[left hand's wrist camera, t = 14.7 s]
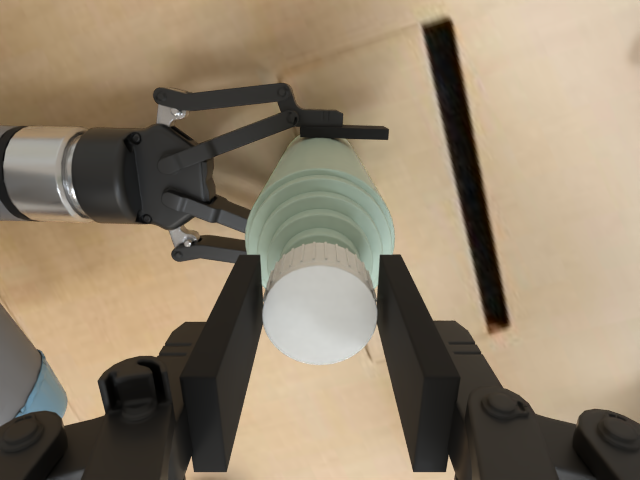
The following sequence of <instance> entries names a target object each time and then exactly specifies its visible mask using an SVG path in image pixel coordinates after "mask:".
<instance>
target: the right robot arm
mask: <svg viewBox="0 0 640 480" xmlns="http://www.w3.org/2000/svg"><path fill="white" fill-rule="evenodd" d="M153 98H154V100H155V102H156V103H157V104H158V113H157V123H156V124H153V125H151V126H149V127H148V128H145V129H135V128H100V127H96V128H91V129H86V128H84V127H63V126H0V221H48V222H76V223H90V222H93V221H96V222H98V223H115V224H154V225H157V226H159V227H161V228H163V229H166V230H169V232H170V235H171V238H172V241H173V244H174V247H175V249H174V250H173V251H172V253H171V255H172V258H173V259H174V260H175V261H178V262H181V261H187V260H193V259H198V258H202V259H209V260H216V261H223V262H230V263H236V261H237V259H238V257H239V255H247V251H246V246H245V240H240V239H233V238H227V237H220V236H213V235H201V236H200V235H199V233H198V232H197V231H192V230H188V229H186V228H185V227H184V224H185V223H187V222H188V221H190V220H191V219H192V218H194V217H197V218H200V219H203V220H205V221H208V222H211V223H220V224H222V225H225V226H227V227H230V228H232V229H235V230H238V231H240V232H243V233H245V230H246V224H247V220H248V217H249V214H250V212H251V210H249V209H246V208H244V207H241V206H239V205H236V204H234V203H231V202H229V201H228V200H227V199H226V198H224V197H221V196H219V195H216V190H215V184H214V181H213V178H212V174H213V169H214V161H213V157H215V156H217V155H220V154H222V153H225V152H228V151H230V150H233V149H236V148H238V147H241V146H244V145H246V144H249V143H252V142H254V141H257V140H260V139H262V138H265V137H267V136H270V135H273V134H275V133H278V132H281V131H283V130H286V129H289V128H291V127H295V126H296V127H300V137H305V138H341V139H376V140H388V134H389V129H387V128H386V127H384V126H358V125H343V113H341V112H339V111H337V110H322V109H303V108H301V107H299V106H298V105H297V103H296V100H295V97H294V94H293V91H292V88H291V86H290V85H288V84H285V83H276V84H268V85H259V86H250V87H241V88H233V89H224V90H215V91H206V92H198V93H192V92H188V91H184V90H180V89H176V88H157V89H156V90H155V91H154V93H153ZM269 102H278V105H279V108H280V111H281V113H278V114H276V115H273V116H271V117H268V118H265V119H263V120H260V121H257V122H255V123H252V124H250V125H247V126H244V127H242V128H239V129H237V130H234V131H231V132H229V133H226V134H223V135H221V136H218V137H215V138H213V139H210V140H207V141H205V142H202V143H200V144H199V143H197V142H196V141H194V140H193V139H192V138H190V137H189V136H187V135H186V134H185V133H183V132H182V131H181V130H179V129H178V128H176V127H175V126H174V122H175V121H176V120H177V119H184V118H186V117H188V115H189V113H190V111H197V110H206V109H215V108H224V107H233V106H242V105H251V104H260V103H269ZM66 408H67V396H66V392H65V391H64V389H63V387H62V385H61V384H60V382H59V381H58V379H57V377H56V376H55V374H54V372H53V371H52V369H51V367H50V366H49V364H48V362H47V361H46V358H45V356H44V354H43V353H42V351H40V350H38V349H36V348H35V347H34V345H33V344H32V343H31V342H30V340H29V339H28V338H27V337H26V335H25V334H24V333H23V331H22V330H21V329H20V328H19V326H18V325H17V324H16V323H15V321H14V320H13V319H12V317H11V316H10V315H9V314H8V312H7V311H6V310H5V308H4V307H3V306H2V305H1V303H0V426H2V425H3V424H5V423H7V422H9V421H11V420H13V419H14V418H16V417H19V416H22V415H25V414H28V413H31V412H37V411H45V410H46V411H51V412H56V413H57V414H58V415H59V416H60V417H61V418H63V416H64V414H65V411H66Z"/></svg>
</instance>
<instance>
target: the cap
mask: <svg viewBox="0 0 640 480" xmlns="http://www.w3.org/2000/svg"><path fill="white" fill-rule="evenodd" d="M263 301H264V304H263V308H262V320H263V325H264V329H265V331H266V334H267V335H268V337H269V339H270V341H271V342H272V343H273V345H274V346H275V347H276V348H277V349H278V350H280V351H281V352H282V353H283V354H285V355H286V356H288V357H290V358H292V359H294V360H296V361H299V362H302V363H307V364H314V365H326V364H333V363H337V362H340V361H343V360H346V359H348V358H350V357H352V356H353V355H355V354H356V353H358V352H359V351H360V350H361V349H362V348H363V347H364V346H365V345H366V344H367V343H368V341H369V340H370V339H371V337H372V335H373V333H374V330H375V328H376V324H377V314H378V313H377V312H378V309H377V306H376V302H377V298H376V295H375V291H374V287H373V284H372V280H371V277H370V274H369V271H368V270H366V268H365V265H364V262H361V261H360V260H359V259H358V258H357V255H356V254H355V255H354V254H353V253H351V252H350V251H348V248H346V249H345V248H343V247H340V246H338V244H335V245H334V244H330V243H327V242H324V243H320V242H319V243H315V242H313V243H310V244H306V245H304V244H302V246H299V247H297V248H295V249H294V248H292V250H291V251H290V252H288V253H287V254H286V255H285V254H283V256H282V258H281V259H280V261H279V262H276V264H275V268H274V270H271V273H270V276H269V280H268V282H267V286H266V290H265V293H264V297H263Z"/></svg>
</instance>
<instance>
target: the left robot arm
mask: <svg viewBox="0 0 640 480" xmlns="http://www.w3.org/2000/svg"><path fill="white" fill-rule="evenodd" d="M262 308H263V293H262V276H261V259H260V255H239V257H238V259H237V261H236V263H235V265H234V267H233V269H232V271H231V273H230V275H229V277H228V279H227V281H226V283H225V285H224V287H223V289H222V291H221V293H220V295H219V297H218V299H217V301H216V303H215V306H214V308H213V310H212V312H211V314H210V316H209V318H208V320H207V322H185V323H183V324H182V325H181V326H179V327H178V328H177V329H175V330H174V331H173V332H172V333H171V335H170V336H169V338H168V340H167V341H166V343H165V346H163V348H162V350H161V351H160V353H159V356H157V357H153V356H138V357H134V358H129V359H126V360H124V361H121V362H119V363H117V364H115V365H113V366H112V367H110V368H109V369H108V370H106V371H105V372H104V373H103V374H102V376H101V377H100V378H99V380H98V385H99V389H100V393H101V397H102V401H103V405H104V409H105V415H104V416H102V417H98V418H95V419H92V420H87V421H83V422H79V423H75V424H71V425H66V426H64V425H63V421H62V418H61V417H60V416H59V415H58V414H57V413H56V412H51V411H46V410H45V411H37V412H31V413H28V414H25V415H22V416H19V417H16V418H14V419H13V420H11V421H9V422H7V423H5V424H3V425H2V426H0V480H186V478H185V473H186V470H187V467H188V464H189V461H190V459H191V456H192V462H193V468H194V472H227V468H228V464H229V460H230V456H231V452H232V448H233V444H234V440H235V436H236V432H237V428H238V423H239V419H240V415H241V411H242V407H243V403H244V399H245V395H246V391H247V387H248V383H249V378H250V374H251V370H252V366H253V362H254V358H255V354H256V350H257V346H258V342H259V338H260V334H261V329H262V325H263V320H262ZM377 309H378V312H377V313H378V314H377V325H378V329H379V334H380V338H381V342H382V346H383V350H384V354H385V358H386V362H387V366H388V370H389V374H390V378H391V383H392V387H393V391H394V395H395V399H396V403H397V407H398V411H399V415H400V419H401V423H402V428H403V432H404V436H405V440H406V444H407V448H408V452H409V456H410V460H411V464H412V468H413V472H446V468H447V462H448V455H449V457H450V459H451V462H452V465H453V468H454V471H455V478H454V480H640V424H638V423H637V422H635V421H633V420H631V419H629V418H627V417H626V416H624V415H621V414H618V413H615V412H612V411H609V410H601V409H592V410H586V411H584V412H583V413H582V414H581V415H580V416H579V418H578V421H577V425H576V424H572V423H568V422H564V421H559V420H555V419H551V418H547V417H544V416H541V415H537V414H535V413H534V411H533V409H532V408H531V406H530V405H529V403H528V402H526V401H525V400H524V399H523V398H522V397H520V396H519V395H518V394H516V393H514V392H512V391H510V390H508V389H504V388H503V387H502V385H501V384H500V382H499V380H498V379H497V377H496V375H495V374H494V372H493V371H492V369H491V367H490V366H489V364H488V362H487V361H486V359H485V358H484V356H483V354H481V351H480V349H479V348H478V346H477V345H475V341H474V340H473V338H472V336H471V335H470V333H469V332H468V330H466V329H465V328H464V327H462V326H461V325H460V324H458V323H457V322H456V321H433V320H432V318H431V316H430V314H429V312H428V310H427V308H426V306H425V303H424V301H423V299H422V297H421V295H420V293H419V291H418V289H417V287H416V285H415V283H414V281H413V279H412V277H411V275H410V273H409V271H408V269H407V267H406V265H405V263H404V261H403V259H402V257H401V255H380V259H379V276H378V293H377Z"/></svg>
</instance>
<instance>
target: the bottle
mask: <svg viewBox="0 0 640 480" xmlns="http://www.w3.org/2000/svg"><path fill="white" fill-rule="evenodd" d="M313 242H315V243H319V242H320V243H324V242H327V243H330V244H334V245H335V244H338V246H340V247H343V248H345V249H346V248H348V251H350V252H351V253H353V254H354V255H355V254H356V255H357V258H358V259H359V260H360V261H361V262H364V265H365V268H366V270H368V271H369V274H370V277H371V280H372V284H373V287H374V289H375V288H376V286H377V285H378V276H379V259H380V255H393V250H394V242H395V234H394V226H393V221H392V218H391V215H390V212H389V210H388V208H387V206H386V204H385V202H384V201H383V199H382V197H381V195H380V194H379V192H378V190H377V189H376V187H375V185H374V183H373V182H372V180H371V178H370V176H369V175H368V173H367V171H366V169H365V168H364V166H363V164H362V163H361V161H360V159H359V157H358V156H357V154H356V152H355V150H354V149H353V147H352V146H351V144H350V143H349V142H348V141H347V140H346V139H341V138H305V137H300V135H298V136H297V137H296V138H294V139H293V140H292V141H291V143H290V144H289V145H288V147H287V148H286V150H285V152H284V154H283V155H282V157H281V159H280V160H279V162H278V164H277V166H276V167H275V169H274V171H273V173H272V174H271V176H270V178H269V180H268V181H267V183H266V185H265V186H264V188H263V190H262V192H261V193H260V195H259V197H258V199H257V200H256V202H255V204H254V206H253V208H252V209H251V212H250V214H249V217H248V220H247V224H246V230H245V246H246V251H247V255H260V259H261V276H262V286H263V287H264V288H265V289H266V286H267V282H268V280H269V276H270V273H271V270H274V268H275V264H276V262H279V261H280V259H281V258H282V256H283V254H285V255H286V254H287V253H288V252H290V251H291V250H292V248H294V249H295V248H297V247H299V246H302V244H304V245H306V244H310V243H313Z"/></svg>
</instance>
